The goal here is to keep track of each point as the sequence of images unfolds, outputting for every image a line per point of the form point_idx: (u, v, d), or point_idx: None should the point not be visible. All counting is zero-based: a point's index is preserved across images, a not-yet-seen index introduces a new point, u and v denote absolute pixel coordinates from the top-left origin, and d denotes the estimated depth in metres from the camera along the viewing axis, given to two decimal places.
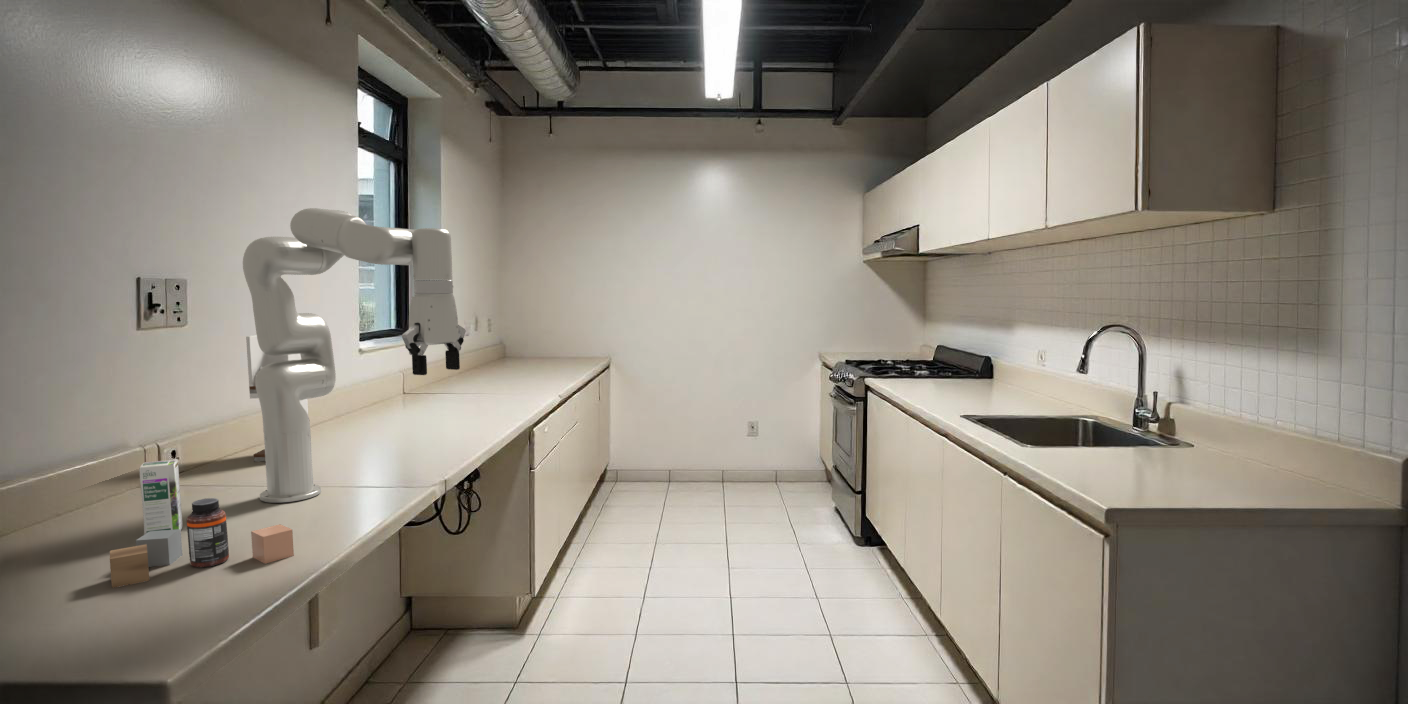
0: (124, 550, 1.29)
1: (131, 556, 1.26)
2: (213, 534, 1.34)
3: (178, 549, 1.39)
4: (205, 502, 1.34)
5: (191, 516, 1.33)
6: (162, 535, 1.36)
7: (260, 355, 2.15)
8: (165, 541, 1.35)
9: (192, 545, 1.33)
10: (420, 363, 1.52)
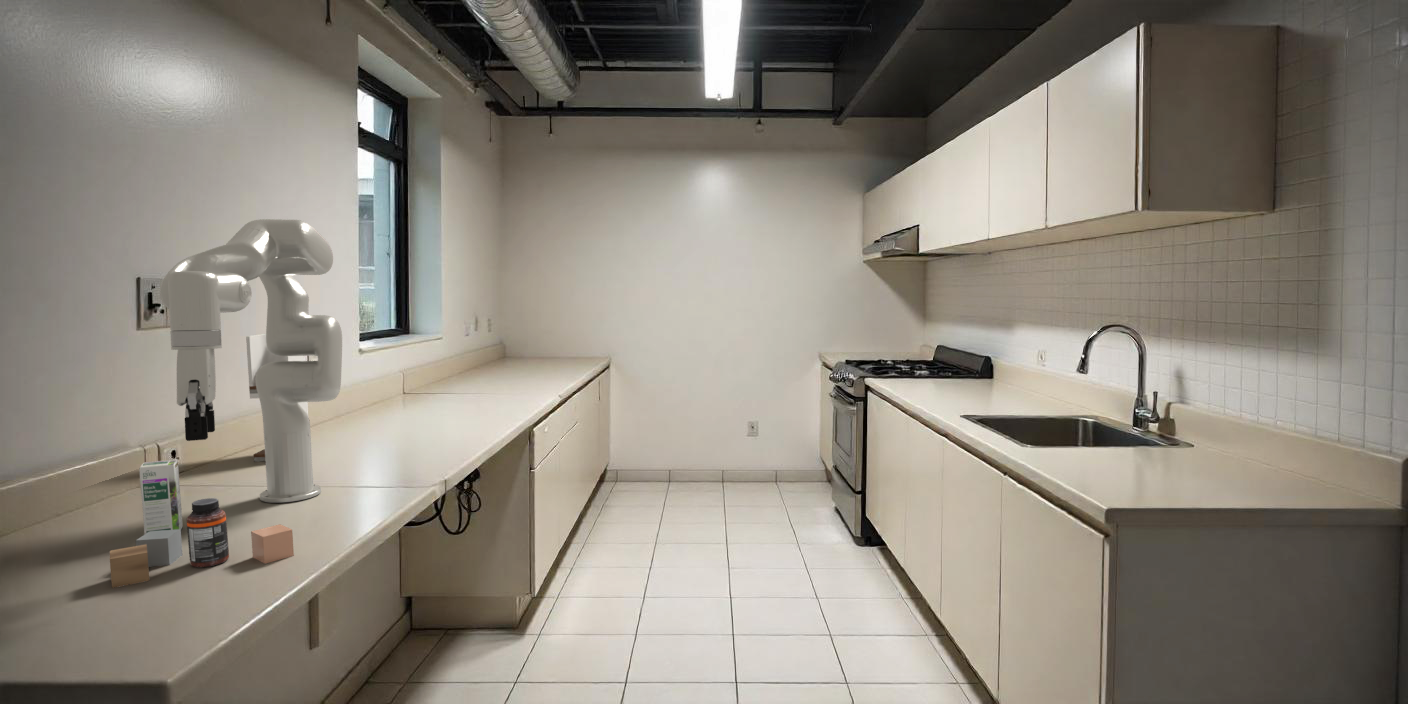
0: (124, 550, 1.29)
1: (131, 556, 1.26)
2: (213, 534, 1.34)
3: (178, 549, 1.39)
4: (205, 502, 1.34)
5: (191, 517, 1.33)
6: (163, 535, 1.36)
7: (260, 355, 2.15)
8: (165, 541, 1.35)
9: (192, 545, 1.33)
10: (201, 426, 1.32)
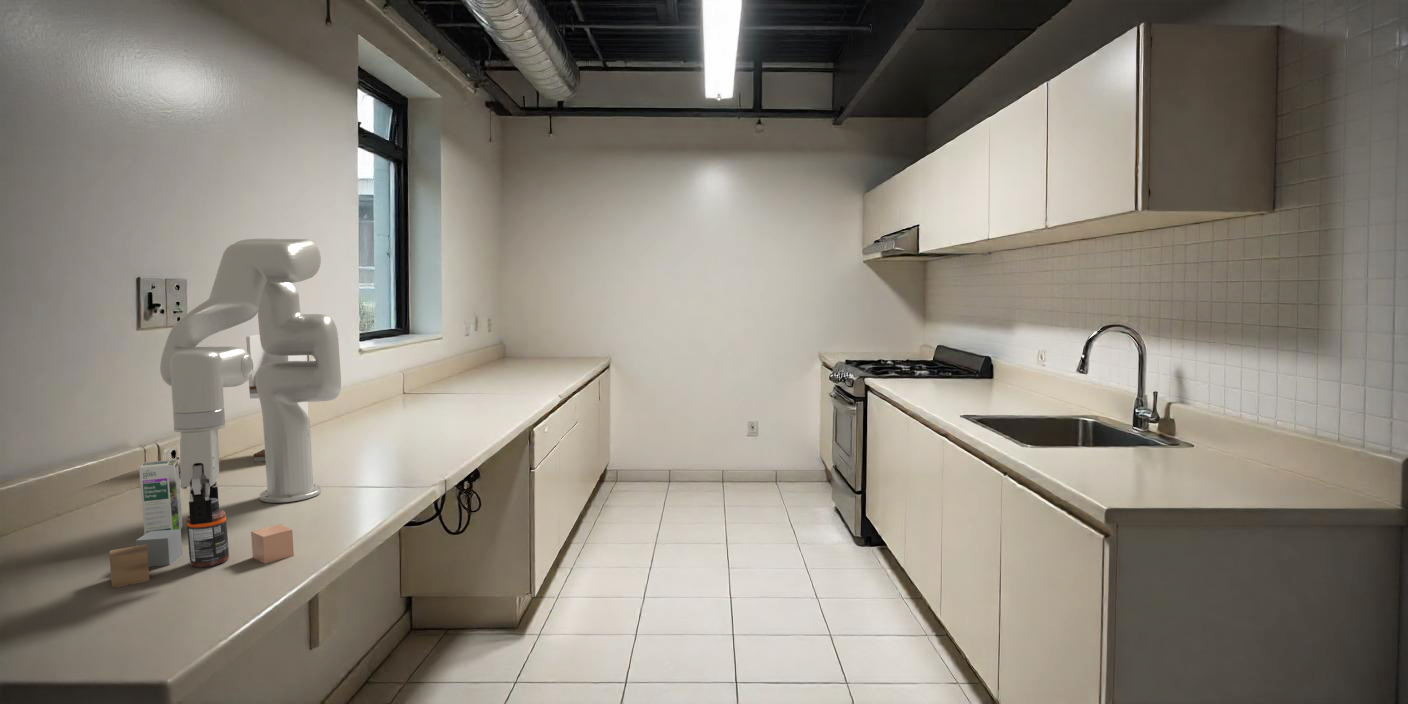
0: (124, 550, 1.29)
1: (131, 556, 1.26)
2: (213, 534, 1.34)
3: (178, 549, 1.39)
4: None
5: None
6: (163, 535, 1.36)
7: (260, 355, 2.15)
8: (165, 541, 1.35)
9: (192, 545, 1.33)
10: (205, 509, 1.30)
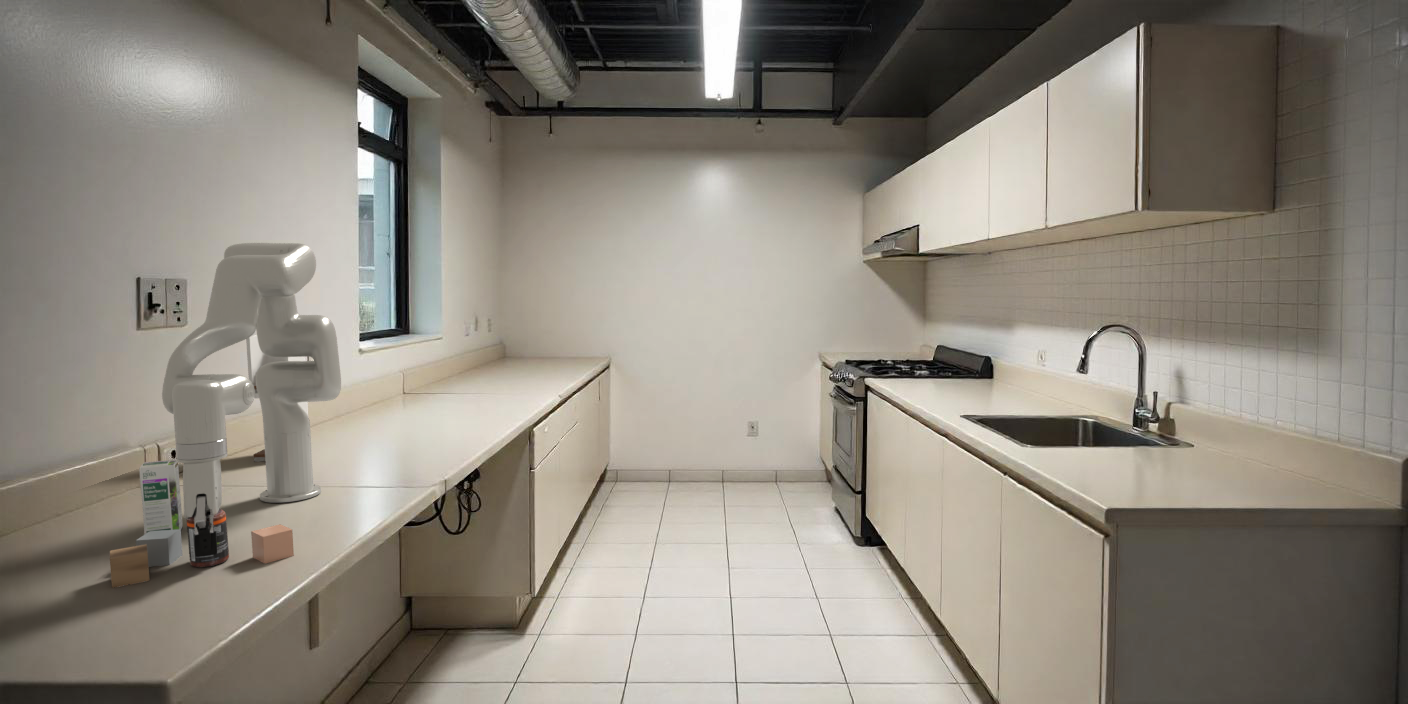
0: (124, 550, 1.29)
1: (131, 556, 1.26)
2: None
3: (178, 549, 1.39)
4: None
5: None
6: (163, 535, 1.36)
7: (260, 355, 2.15)
8: (165, 541, 1.35)
9: (192, 545, 1.33)
10: (210, 542, 1.33)
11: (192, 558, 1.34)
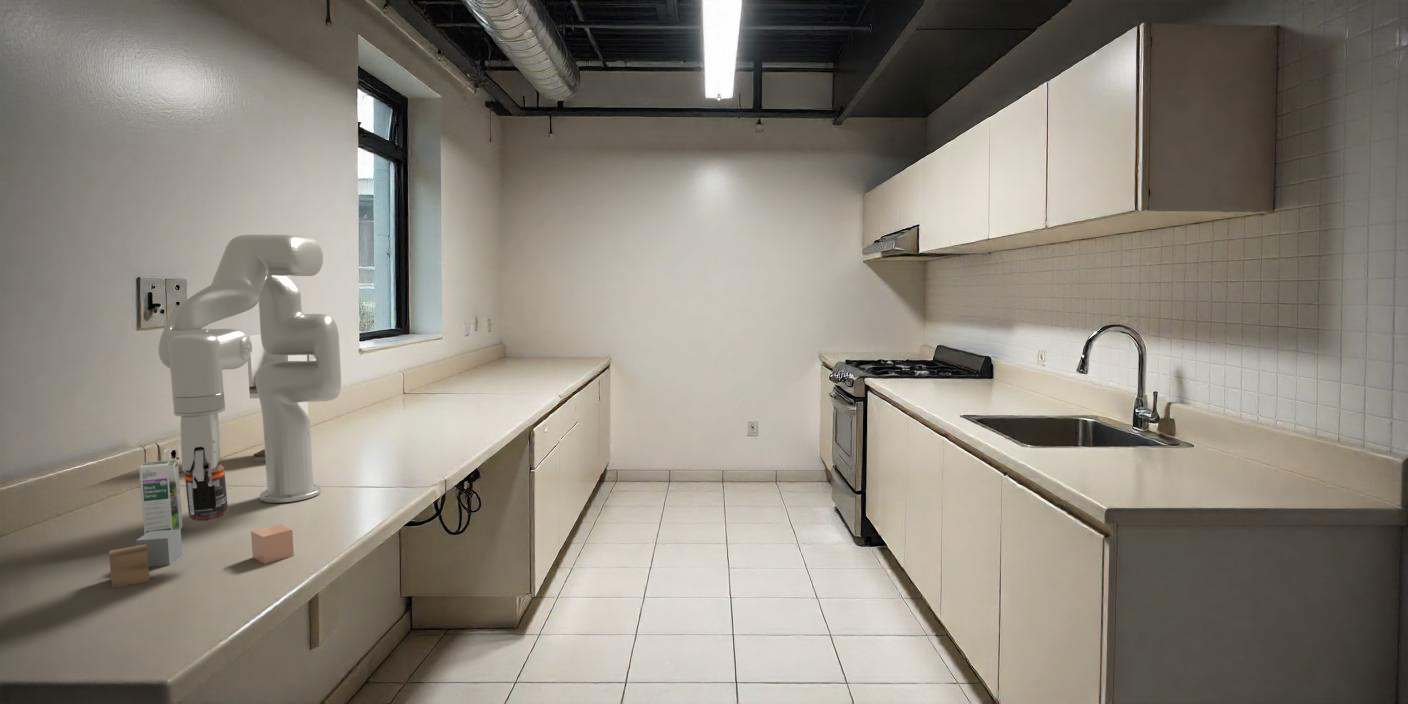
0: (123, 550, 1.29)
1: (131, 556, 1.26)
2: None
3: (178, 549, 1.39)
4: None
5: (189, 470, 1.33)
6: (162, 535, 1.36)
7: (260, 355, 2.15)
8: (165, 541, 1.35)
9: (190, 499, 1.33)
10: (209, 495, 1.33)
11: (191, 512, 1.33)
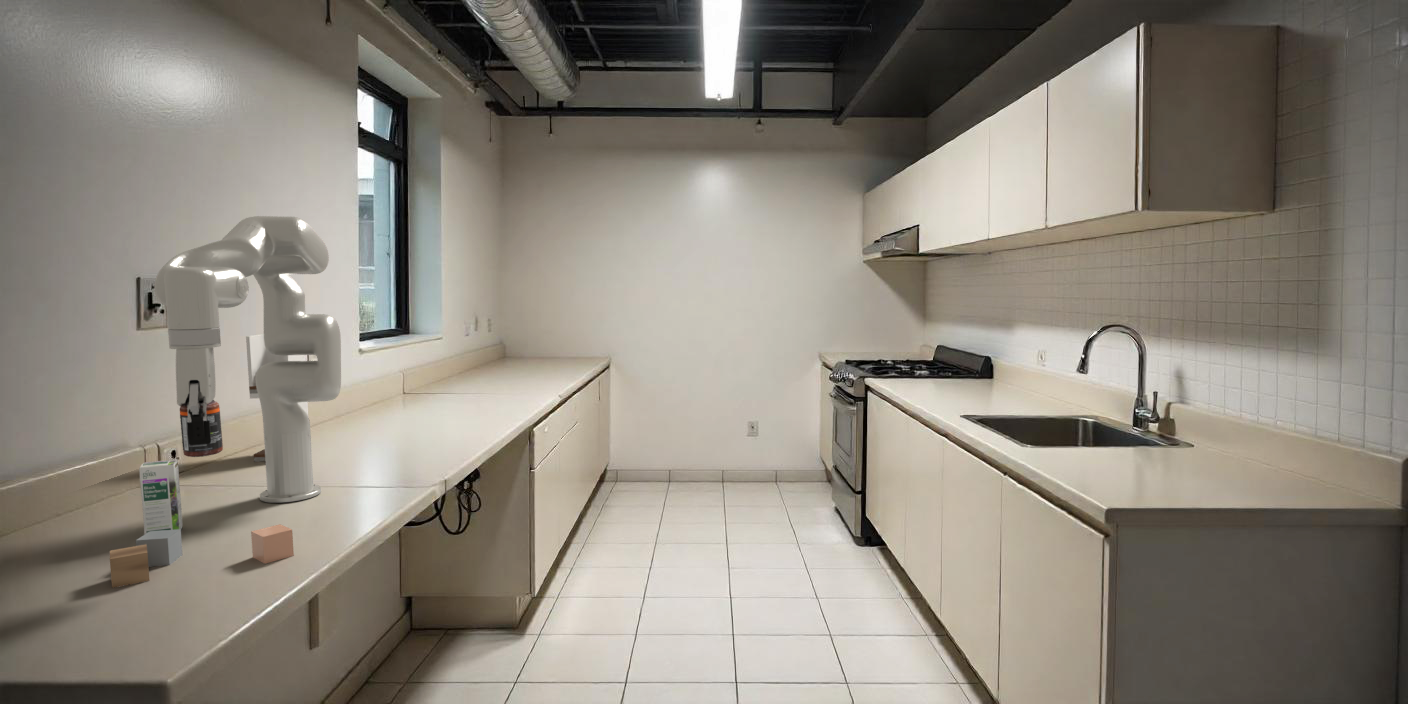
0: (124, 550, 1.29)
1: (131, 556, 1.26)
2: None
3: (178, 549, 1.39)
4: None
5: (184, 405, 1.32)
6: (163, 535, 1.36)
7: (260, 355, 2.15)
8: (165, 541, 1.35)
9: (185, 434, 1.32)
10: (204, 430, 1.31)
11: (185, 447, 1.32)
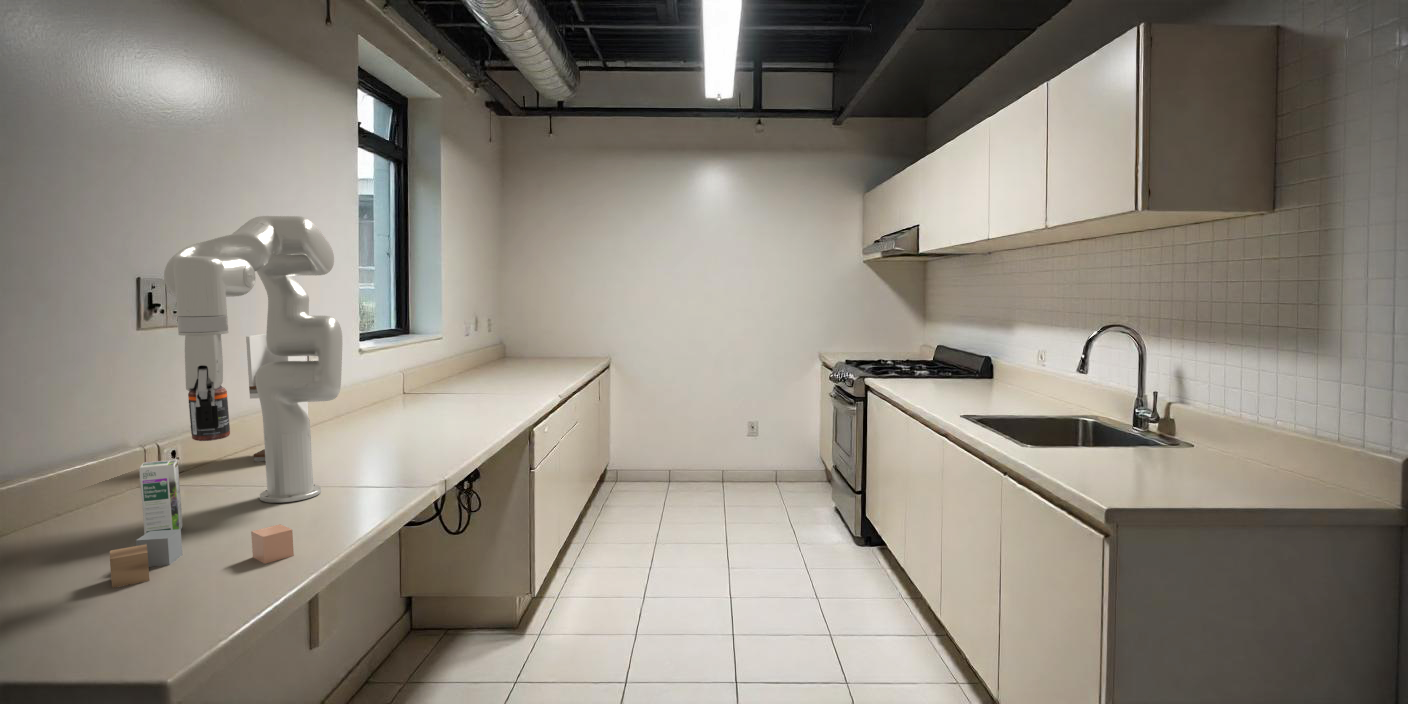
0: (124, 550, 1.29)
1: (131, 556, 1.26)
2: None
3: (178, 549, 1.39)
4: None
5: (192, 390, 1.35)
6: (163, 535, 1.36)
7: (260, 355, 2.15)
8: (165, 542, 1.35)
9: (193, 419, 1.35)
10: (212, 415, 1.35)
11: (194, 431, 1.36)
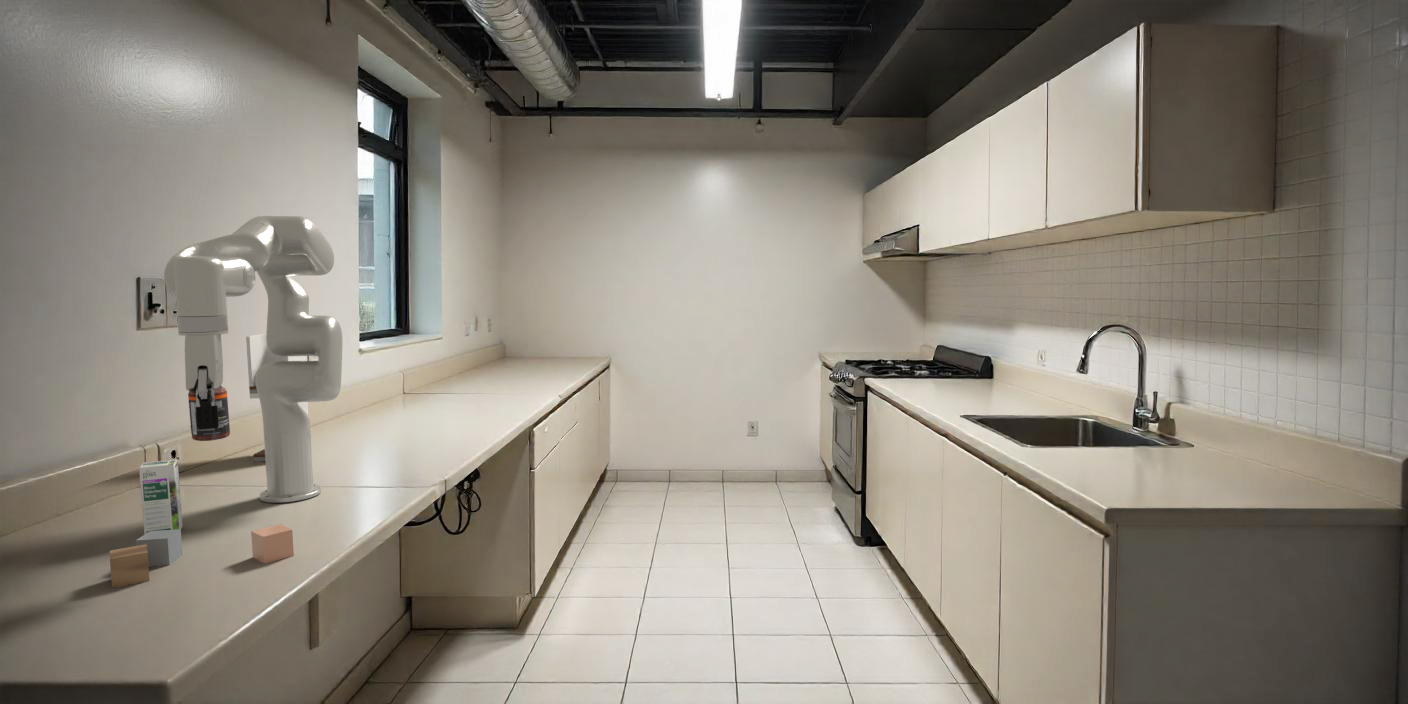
0: (124, 550, 1.29)
1: (131, 556, 1.26)
2: None
3: (178, 549, 1.39)
4: None
5: (192, 390, 1.35)
6: (163, 535, 1.36)
7: (260, 355, 2.15)
8: (165, 542, 1.35)
9: (193, 419, 1.35)
10: (212, 415, 1.35)
11: (194, 431, 1.36)
